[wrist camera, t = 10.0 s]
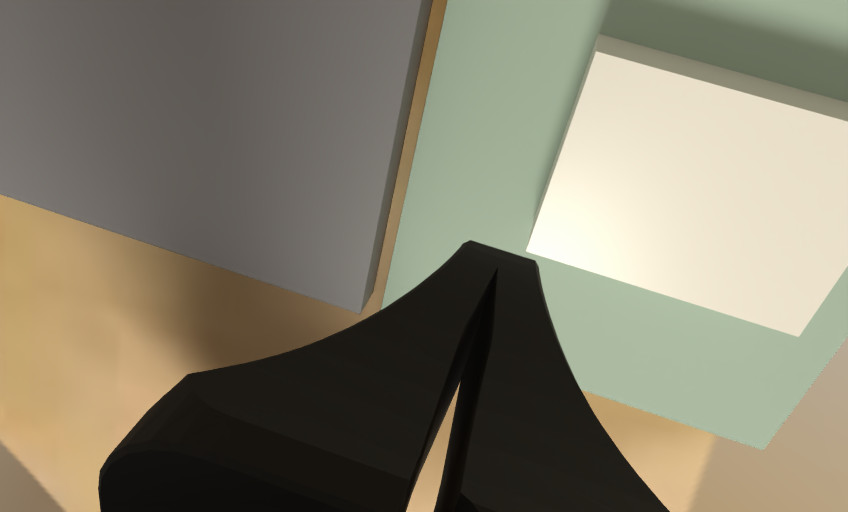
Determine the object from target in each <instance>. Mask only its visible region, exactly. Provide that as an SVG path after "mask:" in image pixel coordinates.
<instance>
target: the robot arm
mask: <svg viewBox="0 0 848 512" xmlns="http://www.w3.org/2000/svg"><path fill="white" fill-rule="evenodd" d="M460 380H461V381H460ZM459 383H460V386H459V392H458V397H457V402H456V407H455V412H454V417H453V423H452V428H451V433H450V438H449V444H448V449H447V454H446V459H445V465H444V470H443V475H442V480H441V485H440V489H439V493H438V497H437V501H436V505H435V509H434V512H670V511H669V510H668V509H667V508H666V507H665V506H664V505H663V504H662V503H661V501H660V500H659V499H658V498H657V497H656V495H655V494H654V493H653V492H652V491H651V490H650V488H649V487H648V486H647V485H646V484H645V482H644V481H643V480H642V479H641V478H640V477H639V475H638V474H637V473H636V472H635V470H634V469H633V468H632V467H631V465H630V464H629V463H628V461H627V460H626V459H625V458H624V456H623V455H622V454H621V452H620V451H619V449H618V448H617V446H616V445H615V444H614V442H613V441H612V439H611V438H610V436H609V435H608V434H607V432H606V431H605V429H604V428H603V427H602V425H601V424H600V422H599V420H598V419H597V417H596V416H595V414H594V413H593V411H592V409H591V407H590V405H589V404H588V402H587V400H586V398H585V396H584V395H583V393H582V391H581V389H580V387H579V385H578V383H577V381H576V379H575V377H574V375H573V373H572V371H571V368H570V366H569V364H568V362H567V359H566V357H565V355H564V352H563V350H562V347H561V345H560V342H559V340H558V337H557V334H556V331H555V328H554V325H553V322H552V320H551V317H550V314H549V310H548V307H547V303H546V300H545V296H544V292H543V288H542V283H541V278H540V272H539V267H538V265H537V263H536V261H535V260H532V259H529V258H526V257H523V256H520V255H516V254H513V253H510V252H507V251H504V250H501V249H497V248H494V247H491V246H488V245H485V244H482V243H478V242H475V241H472V240H469V241H467V242H465V243H463V244H462V245H461V247H460V248H459V249H458V250H457V251H456V252H455V253H454V254H453V255H452V256H451V257H450V258H449V259H448V260H447V261H446V262H445V263H444V264H443V265H442V266H441V267H440V268H438V269H437V270H436V271H435V272H434V273H432V274H431V275H430V276H429V277H427V278H426V279H425V280H424V281H422V282H421V283H420V284H419V285H417V286H416V287H415V288H413V289H412V290H411V291H409V292H408V293H406V294H405V295H403V296H402V297H400V298H399V299H397V300H396V301H394V302H393V303H391V304H390V305H388V306H387V307H385V308H384V309H382V310H380V311H379V312H377V313H375V314H373V315H372V316H370V317H368V318H366V319H364V320H362V321H361V322H359V323H357V324H355V325H353V326H351V327H349V328H347V329H345V330H342V331H340V332H338V333H336V334H333V335H331V336H329V337H327V338H324V339H322V340H320V341H317V342H315V343H312V344H310V345H307V346H304V347H301V348H298V349H295V350H292V351H289V352H286V353H282V354H279V355H275V356H272V357H268V358H265V359H261V360H257V361H253V362H249V363H244V364H239V365H234V366H229V367H224V368H219V369H213V370H208V371H203V372H197V373H191V374H188V375H186V376H185V377H184V378H183V379H182V380H181V381H180V382H179V383H178V384H177V385H175V386H174V387H173V388H172V389H171V390H170V391H169V392H168V393H166V394H165V395H164V396H163V397H162V398H161V399H160V400H159V401H158V402H157V403H156V404H155V405H153V406H152V407H151V408H150V409H149V410H148V411H147V412H146V413H145V415H144V416H143V417H142V418H141V419H140V420H139V422H138V423H137V424H136V425H135V426H134V427H133V429H132V430H131V431H130V432H129V433H128V434H127V436H126V437H125V438H124V439H123V440H122V441H121V442H120V444H119V445H118V446H117V447H116V448H115V449H114V451H113V452H112V453H111V454H110V455H109V457H108V458H107V460H106V462H105V463H104V465H103V466H102V468H101V470H100V475H99V487H98V491H99V500H100V509H101V512H406V510H407V507H408V504H409V501H410V498H411V495H412V492H413V489H414V487H415V484H416V482H417V479H418V477H419V474H420V472H421V469H422V467H423V465H424V463H425V460H426V458H427V456H428V453H429V451H430V449H431V447H432V444H433V442H434V440H435V438H436V435H437V433H438V431H439V428H440V426H441V424H442V422H443V419H444V417H445V415H446V412H447V410H448V408H449V406H450V403H451V401H452V399H453V396H454V394H455V392H456V390H457V387H458V385H459Z"/></svg>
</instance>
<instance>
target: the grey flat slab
mask: <svg viewBox="0 0 848 512" xmlns="http://www.w3.org/2000/svg"><path fill="white" fill-rule="evenodd" d="M432 1H433V0H0V194H1V195H4V196H7V197H10V198H13V199H16V200H19V201H22V202H25V203H28V204H31V205H34V206H37V207H40V208H43V209H46V210H49V211H52V212H55V213H58V214H61V215H64V216H67V217H70V218H73V219H76V220H79V221H82V222H85V223H88V224H91V225H94V226H97V227H100V228H103V229H106V230H109V231H112V232H115V233H118V234H121V235H124V236H127V237H130V238H133V239H136V240H139V241H142V242H145V243H148V244H151V245H154V246H157V247H160V248H163V249H166V250H169V251H172V252H175V253H178V254H181V255H184V256H187V257H190V258H193V259H196V260H199V261H202V262H205V263H208V264H211V265H214V266H217V267H220V268H223V269H226V270H229V271H232V272H235V273H238V274H241V275H244V276H247V277H250V278H253V279H256V280H259V281H262V282H265V283H268V284H271V285H274V286H277V287H280V288H283V289H286V290H289V291H292V292H295V293H298V294H301V295H304V296H307V297H310V298H313V299H316V300H319V301H322V302H325V303H328V304H331V305H334V306H337V307H340V308H343V309H346V310H349V311H352V312H355V313H358V314H360V313H361V312H362V310H363V308H364V307H365V305H366V303H367V301H368V300H369V298H370V296H371V294H372V293H373V290H374V285H375V280H376V275H377V271H378V266H379V261H380V256H381V251H382V246H383V241H384V236H385V231H386V226H387V221H388V217H389V212H390V207H391V202H392V197H393V192H394V187H395V182H396V177H397V172H398V168H399V163H400V158H401V153H402V148H403V143H404V138H405V133H406V128H407V123H408V119H409V114H410V109H411V104H412V99H413V94H414V89H415V84H416V79H417V74H418V70H419V65H420V60H421V55H422V50H423V45H424V40H425V35H426V30H427V25H428V20H429V16H430V11H431V6H432Z"/></svg>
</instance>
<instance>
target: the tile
mask: <svg viewBox="0 0 848 512" xmlns="http://www.w3.org/2000/svg"><path fill="white" fill-rule="evenodd" d="M526 252H530V253H533V254H536V255H539V256H542V257H545V258H549V259H552V260H555V261H558V262H561V263H565V264H568V265H571V266H574V267H577V268H580V269H584V270H587V271H590V272H593V273H596V274H600V275H603V276H606V277H609V278H612V279H615V280H619V281H622V282H625V283H628V284H631V285H635V286H638V287H641V288H644V289H647V290H650V291H654V292H657V293H660V294H663V295H666V296H670V297H673V298H676V299H679V300H682V301H685V302H689V303H692V304H695V305H698V306H701V307H705V308H708V309H711V310H714V311H717V312H720V313H724V314H727V315H730V316H733V317H736V318H740V319H743V320H746V321H749V322H752V323H755V324H759V325H762V326H765V327H768V328H771V329H775V330H778V331H781V332H784V333H787V334H790V335H794V336H797V337H799V336H800V334H801V333H802V332H803V330H804V329H805V327H806V326H807V324H808V323H809V321H810V320H811V319H812V317H813V316H814V314H815V313H816V311H817V310H818V308H819V307H820V305H821V304H822V303H823V301H824V300H825V298H826V297H827V295H828V294H829V292H830V291H831V289H832V288H833V287H834V285H835V284H836V282H837V281H838V279H839V278H840V276H841V275H842V274H843V272H844V271H845V269H846V268H847V266H848V102H844V101H841V100H837V99H833V98H830V97H826V96H822V95H819V94H815V93H812V92H808V91H804V90H801V89H797V88H794V87H790V86H786V85H783V84H779V83H775V82H772V81H768V80H765V79H761V78H757V77H754V76H750V75H746V74H743V73H739V72H736V71H732V70H728V69H725V68H721V67H718V66H714V65H710V64H707V63H703V62H699V61H696V60H692V59H689V58H685V57H681V56H678V55H674V54H670V53H667V52H663V51H660V50H656V49H652V48H649V47H645V46H642V45H638V44H634V43H631V42H627V41H623V40H620V39H616V38H613V37H609V36H605V35H602V34H598V36H597V39H596V42H595V45H594V48H593V50H592V53H591V56H590V59H589V62H588V65H587V68H586V71H585V73H584V76H583V79H582V82H581V85H580V88H579V91H578V94H577V96H576V99H575V102H574V105H573V108H572V111H571V114H570V117H569V119H568V122H567V125H566V128H565V131H564V134H563V137H562V140H561V143H560V145H559V148H558V151H557V154H556V157H555V160H554V163H553V166H552V168H551V171H550V174H549V177H548V180H547V183H546V186H545V189H544V191H543V194H542V197H541V200H540V203H539V206H538V209H537V212H536V214H535V217H534V220H533V224H532V228H531V232H530V236H529V241H528V245H527V249H526Z"/></svg>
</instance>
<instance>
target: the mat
mask: <svg viewBox="0 0 848 512" xmlns="http://www.w3.org/2000/svg"><path fill="white" fill-rule="evenodd" d="M598 34H602V35H605V36H609V37H613V38H616V39H620V40H623V41H627V42H631V43H634V44H638V45H642V46H645V47H649V48H652V49H656V50H660V51H663V52H667V53H670V54H674V55H678V56H681V57H685V58H689V59H692V60H696V61H699V62H703V63H707V64H710V65H714V66H718V67H721V68H725V69H728V70H732V71H736V72H739V73H743V74H746V75H750V76H754V77H757V78H761V79H765V80H768V81H772V82H775V83H779V84H783V85H786V86H790V87H794V88H797V89H801V90H804V91H808V92H812V93H815V94H819V95H822V96H826V97H830V98H833V99H837V100H841V101H844V102H848V0H448V1H447V6H446V11H445V15H444V20H443V24H442V29H441V34H440V38H439V43H438V48H437V52H436V57H435V61H434V66H433V71H432V75H431V80H430V85H429V89H428V94H427V98H426V103H425V108H424V112H423V117H422V122H421V126H420V131H419V135H418V140H417V145H416V149H415V154H414V159H413V163H412V168H411V172H410V177H409V182H408V186H407V191H406V196H405V200H404V205H403V209H402V214H401V219H400V223H399V228H398V233H397V237H396V242H395V246H394V251H393V256H392V260H391V265H390V270H389V274H388V279H387V283H386V288H385V293H384V297H383V302H382V307H381V310H382V309H384V308H385V307H387V306H388V305H390V304H391V303H393V302H394V301H396V300H397V299H399V298H400V297H402V296H403V295H405V294H406V293H408V292H409V291H411V290H412V289H413V288H415V287H416V286H417V285H419V284H420V283H421V282H422V281H424V280H425V279H426V278H427V277H429V276H430V275H431V274H432V273H434V272H435V271H436V270H437V269H438V268H440V267H441V266H442V265H443V264H444V263H445V262H446V261H447V260H448V259H449V258H450V257H451V256H452V255H453V254H454V253H455V252H456V251H457V250H458V249H459V248H460V247H461V245H462V244H463V243H465V242H467V241H469V240H472V241H475V242H478V243H482V244H485V245H488V246H491V247H494V248H497V249H501V250H504V251H507V252H510V253H513V254H516V255H520V256H523V257H526V258H529V259H532V260H535V261H536V263H537V265H538V267H539V272H540V278H541V283H542V288H543V292H544V296H545V300H546V303H547V307H548V310H549V314H550V317H551V320H552V322H553V325H554V328H555V331H556V334H557V337H558V340H559V342H560V345H561V347H562V350H563V352H564V355H565V357H566V359H567V362H568V364H569V366H570V368H571V371H572V373H573V375H574V377H575V379H576V381H577V383H578V385H579V387H580V389H581V390H584V391H587V392H590V393H593V394H596V395H599V396H602V397H605V398H608V399H611V400H614V401H617V402H620V403H623V404H626V405H629V406H632V407H635V408H638V409H641V410H644V411H647V412H650V413H653V414H656V415H659V416H661V417H664V418H667V419H670V420H673V421H676V422H679V423H682V424H685V425H688V426H691V427H694V428H697V429H700V430H703V431H706V432H709V433H712V434H715V435H718V436H722V437H725V438H727V439H731V440H734V441H736V442H739V443H742V444H745V445H748V446H752V447H754V448H758V449H761V450H764V448H765V447H766V446H767V444H768V443H769V442H770V440H771V439H772V437H773V436H774V435H775V433H776V432H777V431H778V429H779V428H780V427H781V425H782V424H783V423H784V421H785V420H786V419H787V417H788V416H789V414H790V413H791V412H792V411H793V409H794V408H795V407H796V405H797V404H798V402H799V401H800V400H801V398H802V397H803V396H804V394H805V393H806V392H807V390H808V389H809V388H810V386H811V385H812V384H813V382H814V381H815V380H816V378H817V377H818V375H819V374H820V373H821V372H822V370H823V369H824V368H825V366H826V365H827V363H828V362H829V361H830V359H831V358H832V357H833V355H834V354H835V353H836V351H837V350H838V349H839V347H840V346H841V345H842V343H843V342H844V340H845V339H846V338H847V336H848V266H847V268H846V269H845V271H844V272H843V274H842V275H841V276H840V278H839V279H838V281H837V282H836V284H835V285H834V287H833V288H832V289H831V291H830V292H829V294H828V295H827V297H826V298H825V300H824V301H823V303H822V304H821V305H820V307H819V308H818V310H817V311H816V313H815V314H814V316H813V317H812V319H811V320H810V321H809V323H808V324H807V326H806V327H805V329H804V330H803V332H802V333H801V334H800V336H799V337H797V336H794V335H790V334H787V333H784V332H781V331H778V330H775V329H771V328H768V327H765V326H762V325H759V324H755V323H752V322H749V321H746V320H743V319H740V318H736V317H733V316H730V315H727V314H724V313H720V312H717V311H714V310H711V309H708V308H705V307H701V306H698V305H695V304H692V303H689V302H685V301H682V300H679V299H676V298H673V297H670V296H666V295H663V294H660V293H657V292H654V291H650V290H647V289H644V288H641V287H638V286H635V285H631V284H628V283H625V282H622V281H619V280H615V279H612V278H609V277H606V276H603V275H600V274H596V273H593V272H590V271H587V270H584V269H580V268H577V267H574V266H571V265H568V264H565V263H561V262H558V261H555V260H552V259H549V258H545V257H542V256H539V255H536V254H533V253H530V252H526V249H527V245H528V241H529V236H530V232H531V228H532V224H533V220H534V217H535V214H536V212H537V209H538V206H539V203H540V200H541V197H542V194H543V191H544V189H545V186H546V183H547V180H548V177H549V174H550V171H551V168H552V166H553V163H554V160H555V157H556V154H557V151H558V148H559V145H560V143H561V140H562V137H563V134H564V131H565V128H566V125H567V122H568V119H569V117H570V114H571V111H572V108H573V105H574V102H575V99H576V96H577V94H578V91H579V88H580V85H581V82H582V79H583V76H584V73H585V71H586V68H587V65H588V62H589V59H590V56H591V53H592V50H593V48H594V45H595V42H596V39H597V36H598Z"/></svg>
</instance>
